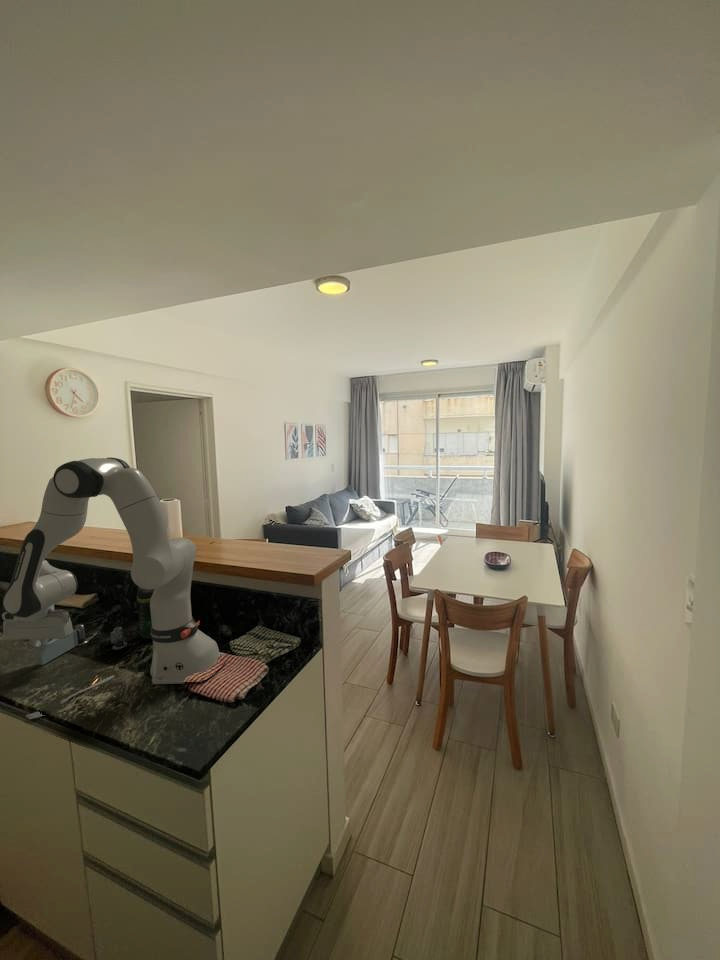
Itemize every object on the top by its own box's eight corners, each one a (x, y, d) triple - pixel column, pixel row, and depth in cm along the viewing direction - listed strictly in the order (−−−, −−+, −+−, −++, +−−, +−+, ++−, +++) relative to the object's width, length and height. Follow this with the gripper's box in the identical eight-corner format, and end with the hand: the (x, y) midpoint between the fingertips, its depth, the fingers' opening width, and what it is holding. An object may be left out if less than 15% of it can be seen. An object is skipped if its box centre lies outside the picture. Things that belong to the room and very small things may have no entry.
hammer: (131, 642, 132) (129, 625, 131) (119, 650, 127) (118, 632, 126) (115, 641, 133) (113, 623, 133) (103, 648, 128) (101, 630, 128)
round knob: (92, 640, 135) (90, 622, 134) (80, 646, 130) (78, 629, 130) (82, 639, 136) (80, 622, 135) (70, 645, 131) (68, 628, 131)
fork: (128, 672, 115) (127, 666, 115) (30, 725, 94) (29, 719, 94) (122, 669, 117) (121, 664, 116) (24, 721, 95) (23, 715, 95)
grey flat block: (73, 644, 131) (71, 629, 131) (78, 644, 131) (76, 629, 130) (38, 664, 119) (36, 648, 119) (43, 664, 119) (41, 648, 119)
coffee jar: (145, 642, 132) (140, 591, 130) (137, 635, 137) (132, 586, 135) (173, 631, 139) (169, 582, 137) (164, 625, 144) (160, 578, 143)
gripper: (75, 605, 123) (79, 644, 125) (15, 606, 124) (20, 645, 125) (59, 613, 117) (64, 655, 119) (-4, 614, 118) (2, 656, 119)
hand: (41, 650), depth 122 cm, fingers closed
